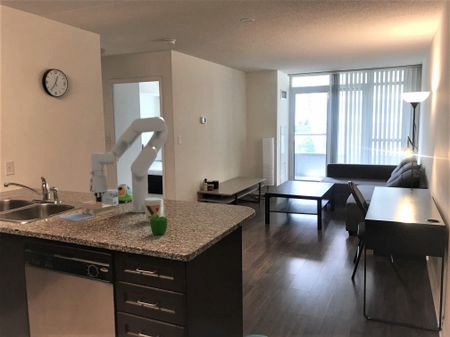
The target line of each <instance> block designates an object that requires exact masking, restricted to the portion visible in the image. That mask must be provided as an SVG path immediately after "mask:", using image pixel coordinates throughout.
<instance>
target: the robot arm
mask: <svg viewBox="0 0 450 337" xmlns="http://www.w3.org/2000/svg"><path fill="white" fill-rule="evenodd" d="M152 132H153V133H152ZM168 132H169V131H168V126H167V123H166V120H165V119H164V118H163V117H160V116H152V117H150V116H149V117H142V118H141V117H140V118H139V117H138V118H135V119H133V121H132V123H131V124H130V125H128V127H127V128H126V130H124V132H123V133H122V134H121V135H120V136H119V137H118V140H117V142H116V143H115V144H114V145H113V146H112V147H111V149H110V150H108V152H106V153H103V152H93V153H91V154H90V160H91V162H90V164H91V165H90V166H91V169H90V170H91V171H89V172H90V173H89V174H90V179H89V192H90V195H91V196H94V197H95V201H97V202H102V196H103V194H104V193H106V192H107V190H108V189H109V187H108V186H109V185H108V179H107V178H108V177H107V174H106V173H105V172H106V169H105V168H106V166H105V165H107V166H113V165H116V163H118V161H119V160H120V158H122V156H123V155H124V154H125V153H126V152H127V151H128V149H130V148H131V147H132V145H134V144H135V142H136V141H137V140H138V138H140V136H141V135H142V134H143V133H144V134H146V133H152V135H151V137H150V138H149V140H148V142H147V143H146V145H145V146H144V147H142V149H141V151H140V152H139V153H138V155H137V157H136V158H135V160H134V161H133V162H132V163H131V166H130V172H131V191H132V201H131V202H132V204H131V205H132V206H131V207H132V208H130V209H129V211H130V212H131V213H139V214H141V213H145V204H144V200H145V199H146V198H149V190H148V189H149V182H148V173H149V172H148V171H149V170H150V168H151V166H152V165H153V163H154V162H155V161H156V160H157V157H158V154H159V152H160V151H161V148H162V147H163V145H164V144H165V142H166V141H167V138H168V134H169V133H168Z"/></svg>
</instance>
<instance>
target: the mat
mask: <svg viewBox="0 0 450 337" xmlns="http://www.w3.org/2000/svg"><path fill="white" fill-rule="evenodd" d="M95 217H96V216H92V215H87V214H83V213H80V212H79V213H72V214H67V215H63V216H59V217H58V219H63V220H67V221H70V222H79V221H83V220H88V219H93V218H95Z"/></svg>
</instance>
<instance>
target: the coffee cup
mask: <svg viewBox="0 0 450 337" xmlns="http://www.w3.org/2000/svg"><path fill="white" fill-rule="evenodd" d="M144 204H145V212H144V215H145V221H146V222H148V223H150V219H151V218H154V217H156V215H155V216H154V215H153V214H158V215H159V217H161V210H162V198H160V197H148V198H146V199H145V200H144Z"/></svg>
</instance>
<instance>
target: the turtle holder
mask: <svg viewBox="0 0 450 337" xmlns="http://www.w3.org/2000/svg"><path fill="white" fill-rule="evenodd" d="M115 189H118V202H119V201H123V202H124V204H127V203H128V201H130V202H132V187H130V186H129V185H128V184H127V183H126V184H124V183H121V184H117V186H116V187H115Z"/></svg>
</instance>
